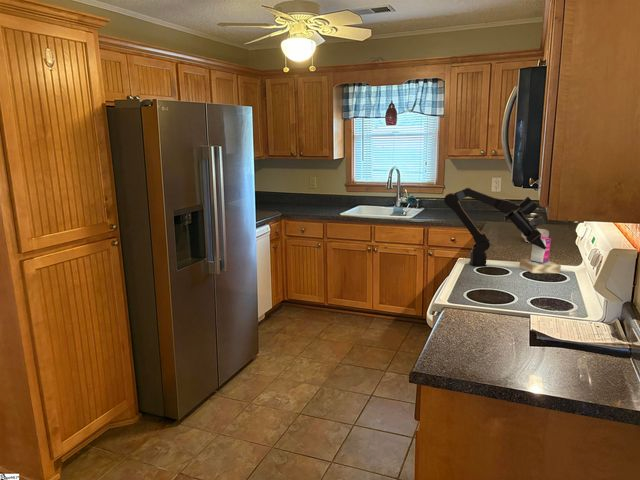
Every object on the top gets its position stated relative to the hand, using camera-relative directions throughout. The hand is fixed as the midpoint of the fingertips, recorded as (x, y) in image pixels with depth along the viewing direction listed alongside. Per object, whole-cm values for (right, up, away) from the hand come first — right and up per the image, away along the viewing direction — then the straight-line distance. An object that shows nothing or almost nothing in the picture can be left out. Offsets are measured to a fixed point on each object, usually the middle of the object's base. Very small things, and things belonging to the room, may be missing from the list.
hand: (543, 246), depth 224 cm
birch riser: (-1, -11, +2) cm, 11 cm away
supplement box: (-1, -7, +2) cm, 8 cm away
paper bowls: (+27, +1, +70) cm, 75 cm away
